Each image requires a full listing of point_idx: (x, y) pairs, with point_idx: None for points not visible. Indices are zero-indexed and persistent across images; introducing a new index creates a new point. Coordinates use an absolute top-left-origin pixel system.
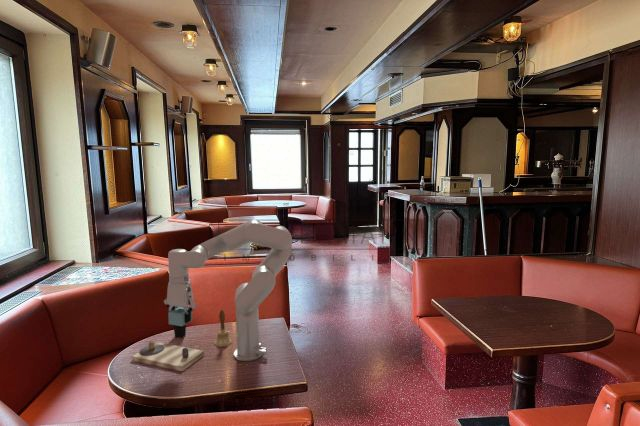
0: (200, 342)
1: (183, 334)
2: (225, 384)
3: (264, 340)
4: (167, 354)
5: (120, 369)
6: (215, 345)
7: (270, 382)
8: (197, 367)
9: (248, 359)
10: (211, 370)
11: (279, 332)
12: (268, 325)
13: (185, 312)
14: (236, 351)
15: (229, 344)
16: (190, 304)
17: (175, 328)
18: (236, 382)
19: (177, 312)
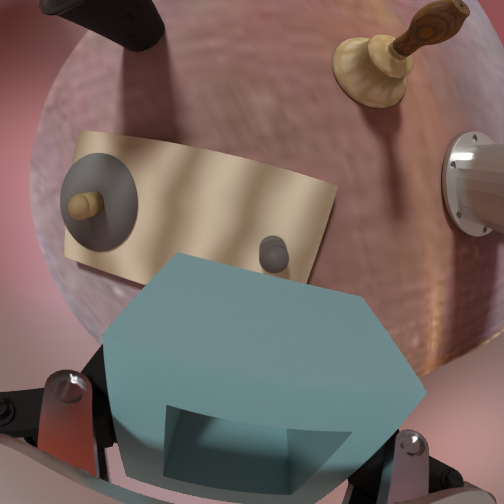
0: (263, 66)
1: (157, 32)
2: (427, 353)
3: (488, 88)
4: (176, 233)
5: (81, 304)
6: (349, 95)
7: (501, 323)
8: (337, 284)
9: (483, 234)
10: (389, 297)
11: (497, 47)
12: None
13: (348, 490)
14: (452, 179)
15: (403, 94)
16: (438, 497)
17: (112, 38)
18: (450, 340)
19: (237, 491)
